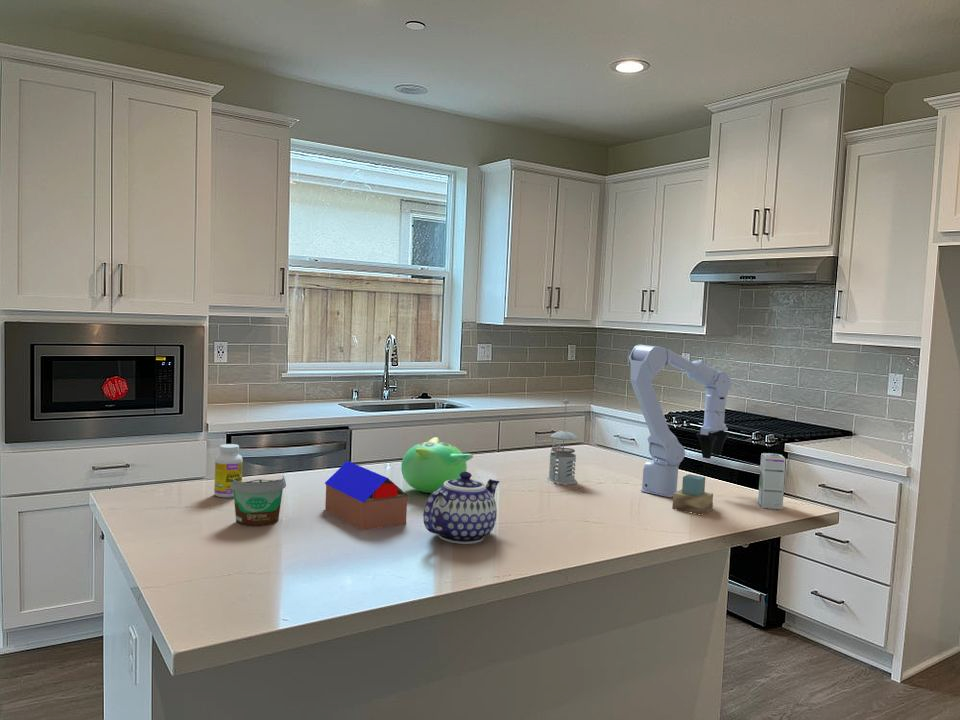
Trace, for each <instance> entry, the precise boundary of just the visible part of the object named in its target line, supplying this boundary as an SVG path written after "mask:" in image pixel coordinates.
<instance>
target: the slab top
mask: <svg viewBox="0 0 960 720" xmlns="http://www.w3.org/2000/svg"><path fill="white" fill-rule="evenodd" d="M677 491H678V492H675V493H673V497H672V504H673V503H677V504H682V505H687V506H692V507H697V508H704V507H706V506H708V505H709V504H711V503H713V504H714V493H712V492H706V491H704V494H702V495H700V496H693V495H688V494H683V493H682V489H680V490H677Z"/></svg>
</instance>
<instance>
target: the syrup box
mask: <svg viewBox="0 0 960 720" xmlns="http://www.w3.org/2000/svg"><path fill="white" fill-rule="evenodd" d="M759 464H760V466H759V467H760V469H759V481H758V499H757V500H758V501H757V503H758V504H759V506H760V507H761V508H762V509H767V508H768V510H769V509H770V510H777V509H778V510H781V511H782V510H783V507H784V506H783V505H784V493H785V490H784V489H785V478H786V477H785V475H786V472H785V471H786V458H785V456H783V454H779V453H772V452H771V453H770V452H768V453H767V452H763V453H761V455H760V463H759Z"/></svg>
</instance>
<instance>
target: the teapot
mask: <svg viewBox="0 0 960 720" xmlns="http://www.w3.org/2000/svg"><path fill="white" fill-rule="evenodd" d="M460 477H461V478H458V479H452V480H448V481H445V482H444V485H443V486H442V487H440V488H439V489H438V490H437V491H434V492H433V493H430V495H429V496H428V499H427V500H426V502H425V505H424V508H423V525H424V527H425V529H426V530H427V531H428V532H430V533H431V534H436V535H438V537H439V538H440V539H441V540H442V541H445V542H448V543H452V544H458V545H472V544H477V543H481V542H482V541H483V540H484V538H485V537H487V536H488V535H490V534H491V532H492V531H493V529H494V528H495V526H496V525H495V524H496V521H497V513H498V512H497V511H498V509H497V503H496V498H495V496H496V489H497V486H498V485H499V483H500V481H499V480H498V479H492V478H489V479H488V480H487V482H486V484H485V483H484V482H482V481H479V480H475V479H471V477H472V474H471V472H469V471H466V472H461V473H460Z"/></svg>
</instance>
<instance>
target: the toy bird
mask: <svg viewBox="0 0 960 720" xmlns="http://www.w3.org/2000/svg"><path fill="white" fill-rule="evenodd" d="M473 457H474V456H473V454H471V453H463V452H462V451H461V450H460V449H459V448H458V447H457V446H454V445H452V444H450V443H447V442H443V441H440V439H439V437H436V436H435V437H432V438H430V439H429V440H427V441H425V442H421V443H417V444H415V445H413V446H412V447H410V448H409V449H408V450H407V451H406V452H405V454H404V455H403V458H402V460H401V466H400V468H401V469H400V471H401V475H402V478H403V479H404V480H405V482H406V483H407V485H409V487H411V488H412V489H415V490H416V491H420V492H422V493H427V494H428V493H429V494H432V493H433V492H434V491H437V490H438V489H439V488H440V487H442V486H443V485H444V482H445V481H448V480H452V479H458V478H461V477H460V473H461V472H467V468H468V467H467V462H468V461H470V460H471V459H473Z"/></svg>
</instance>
